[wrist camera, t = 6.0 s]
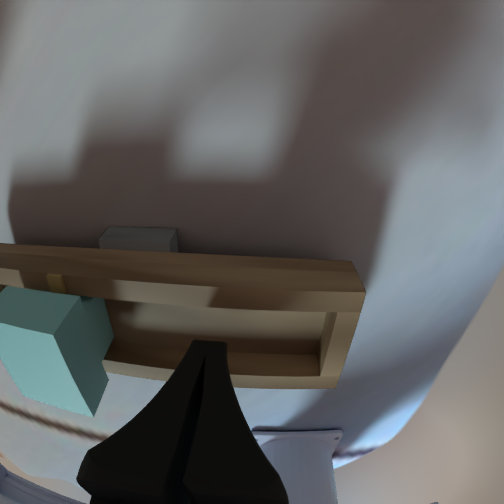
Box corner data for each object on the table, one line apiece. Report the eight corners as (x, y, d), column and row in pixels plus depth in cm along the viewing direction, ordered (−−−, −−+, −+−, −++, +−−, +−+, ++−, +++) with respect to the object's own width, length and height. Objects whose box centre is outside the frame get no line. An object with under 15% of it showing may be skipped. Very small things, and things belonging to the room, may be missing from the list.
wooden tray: (322, 342, 19) (333, 397, 15) (31, 314, 19) (2, 353, 15) (345, 236, 15) (370, 284, 12) (2, 224, 15) (-40, 257, 12)
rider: (121, 350, 16) (93, 417, 12) (57, 338, 16) (23, 395, 12) (100, 268, 13) (52, 334, 9) (30, 262, 13) (-22, 316, 9)
